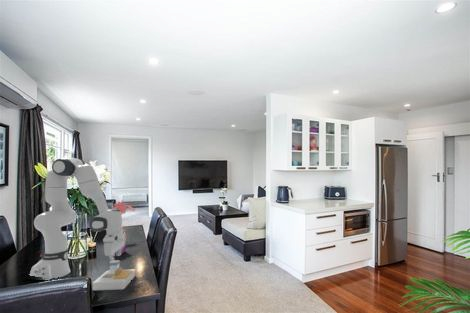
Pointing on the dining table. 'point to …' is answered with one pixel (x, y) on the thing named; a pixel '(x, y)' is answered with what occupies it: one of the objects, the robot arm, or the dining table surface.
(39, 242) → the dining table surface
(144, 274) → the dining table surface
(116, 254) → the candy bar box
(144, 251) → the dining table surface
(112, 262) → the plug
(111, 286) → the socket plate
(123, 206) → the pink flowers
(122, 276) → the shutter
